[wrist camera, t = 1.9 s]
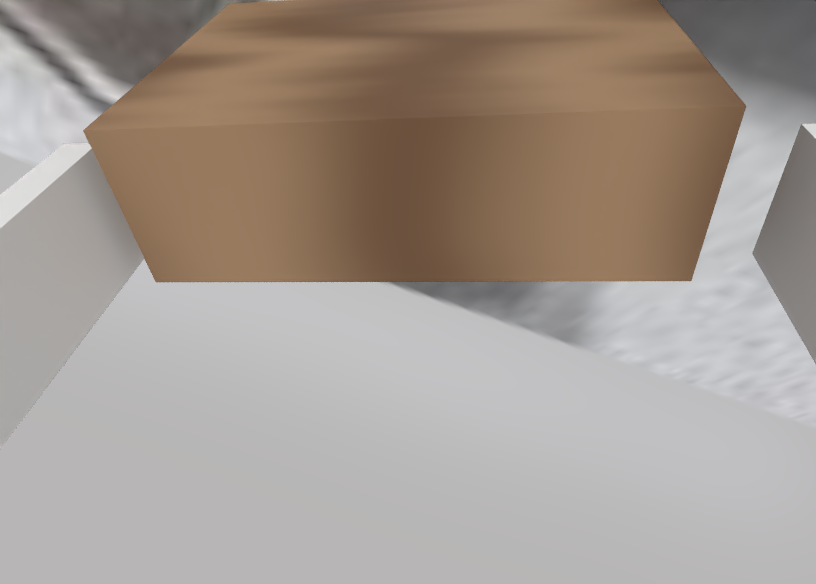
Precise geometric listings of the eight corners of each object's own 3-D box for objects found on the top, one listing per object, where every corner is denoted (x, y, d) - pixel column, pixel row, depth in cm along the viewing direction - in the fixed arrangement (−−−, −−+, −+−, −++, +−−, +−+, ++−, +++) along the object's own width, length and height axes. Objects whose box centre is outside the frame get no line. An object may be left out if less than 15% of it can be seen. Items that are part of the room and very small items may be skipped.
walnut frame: (261, 125, 19) (158, 287, 13) (230, 3, 16) (83, 130, 10) (615, 112, 17) (689, 286, 11) (637, -24, 15) (746, 105, 9)
